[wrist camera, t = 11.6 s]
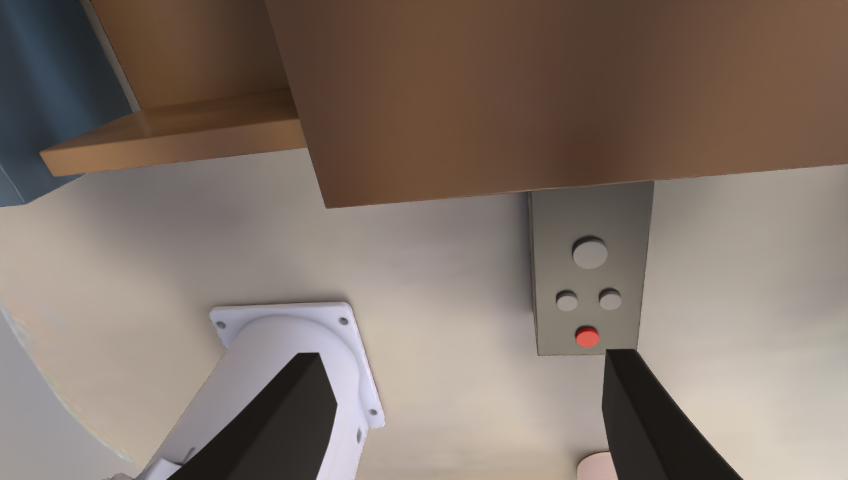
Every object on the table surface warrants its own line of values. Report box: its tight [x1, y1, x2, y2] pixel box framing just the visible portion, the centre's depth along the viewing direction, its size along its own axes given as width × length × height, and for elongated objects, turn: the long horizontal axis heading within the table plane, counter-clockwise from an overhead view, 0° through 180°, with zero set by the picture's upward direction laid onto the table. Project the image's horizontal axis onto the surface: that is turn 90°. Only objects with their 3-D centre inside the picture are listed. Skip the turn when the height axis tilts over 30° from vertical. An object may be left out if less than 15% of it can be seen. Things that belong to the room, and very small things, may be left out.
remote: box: [527, 181, 655, 356], centre depth 18 cm, size 4×8×3 cm, turn 9°
